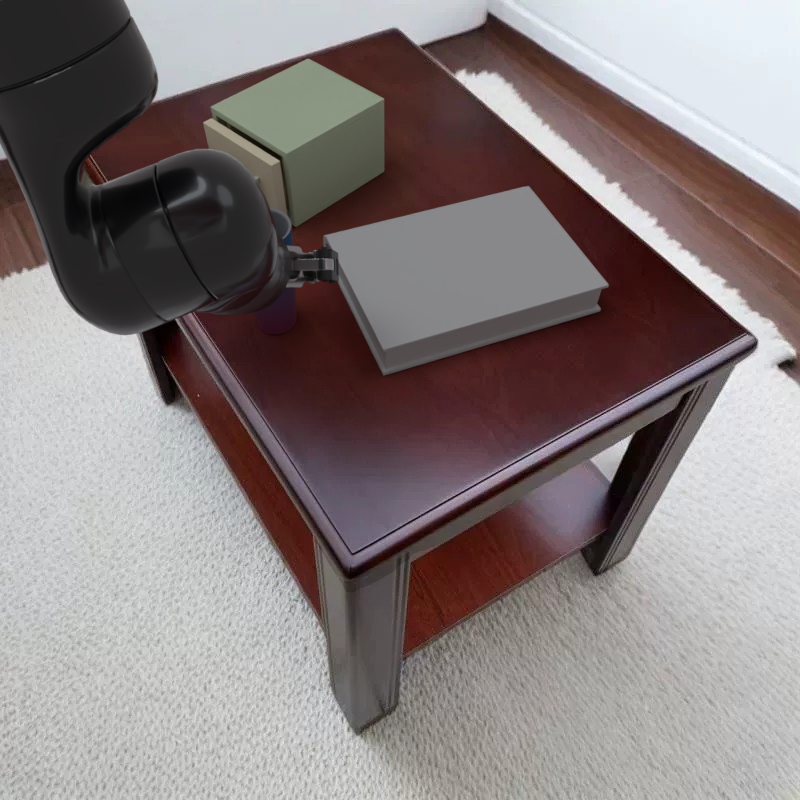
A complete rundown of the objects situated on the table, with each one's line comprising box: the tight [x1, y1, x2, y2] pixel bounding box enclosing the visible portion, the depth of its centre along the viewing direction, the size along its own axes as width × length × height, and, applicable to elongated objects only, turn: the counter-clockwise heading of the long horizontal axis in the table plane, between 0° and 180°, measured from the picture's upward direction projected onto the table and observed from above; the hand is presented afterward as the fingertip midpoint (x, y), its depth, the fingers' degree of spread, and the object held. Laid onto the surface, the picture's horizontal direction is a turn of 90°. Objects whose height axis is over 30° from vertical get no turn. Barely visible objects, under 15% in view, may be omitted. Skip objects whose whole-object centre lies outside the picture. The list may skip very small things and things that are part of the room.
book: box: [322, 185, 610, 377], centre depth 76 cm, size 18×4×24 cm
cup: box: [253, 208, 298, 335], centre depth 69 cm, size 6×5×12 cm
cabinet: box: [210, 58, 385, 228], centre depth 85 cm, size 15×13×10 cm
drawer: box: [202, 117, 289, 215], centre depth 83 cm, size 18×11×8 cm, turn 137°
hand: (263, 270), depth 68 cm, fingers open, 8 cm apart
